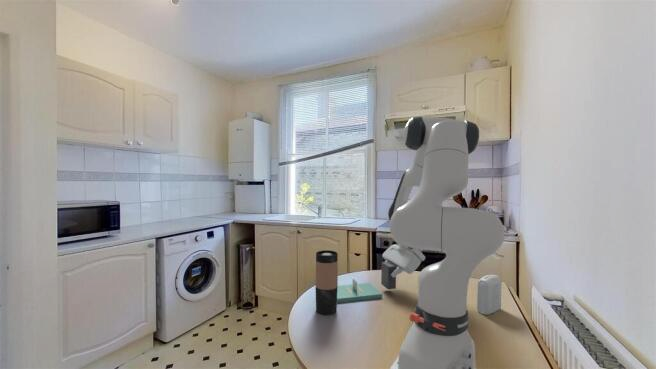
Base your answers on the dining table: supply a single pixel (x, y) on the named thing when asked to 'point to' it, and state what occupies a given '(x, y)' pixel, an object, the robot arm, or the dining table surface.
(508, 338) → the dining table surface
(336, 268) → the travel mug
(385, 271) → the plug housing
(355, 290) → the teal plate
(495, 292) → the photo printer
